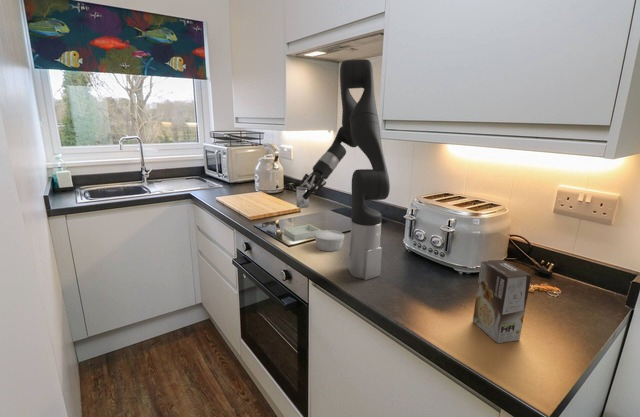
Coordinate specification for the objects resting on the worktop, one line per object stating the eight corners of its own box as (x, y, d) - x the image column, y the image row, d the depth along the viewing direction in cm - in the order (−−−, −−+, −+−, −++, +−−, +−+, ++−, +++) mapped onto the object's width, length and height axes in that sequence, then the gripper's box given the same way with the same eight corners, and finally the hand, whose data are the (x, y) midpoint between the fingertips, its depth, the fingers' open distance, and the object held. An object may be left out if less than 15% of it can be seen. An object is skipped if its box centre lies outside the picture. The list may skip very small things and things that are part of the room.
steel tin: (311, 207, 140) (311, 187, 138) (300, 208, 137) (300, 189, 135) (304, 204, 144) (305, 185, 142) (294, 205, 141) (293, 186, 139)
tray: (321, 235, 143) (321, 230, 142) (294, 241, 136) (294, 235, 136) (309, 229, 151) (309, 224, 150) (283, 234, 144) (283, 228, 144)
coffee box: (521, 340, 78) (534, 275, 73) (497, 344, 76) (508, 278, 72) (493, 317, 86) (502, 258, 82) (470, 320, 85) (479, 260, 81)
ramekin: (348, 245, 134) (348, 232, 132) (337, 255, 124) (337, 241, 122) (321, 240, 138) (322, 228, 137) (309, 249, 128) (309, 236, 127)
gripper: (311, 157, 146) (286, 187, 143) (330, 161, 134) (303, 194, 131) (321, 169, 150) (297, 198, 147) (341, 173, 138) (315, 206, 135)
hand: (300, 196), depth 139 cm, fingers closed on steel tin, 5 cm apart
